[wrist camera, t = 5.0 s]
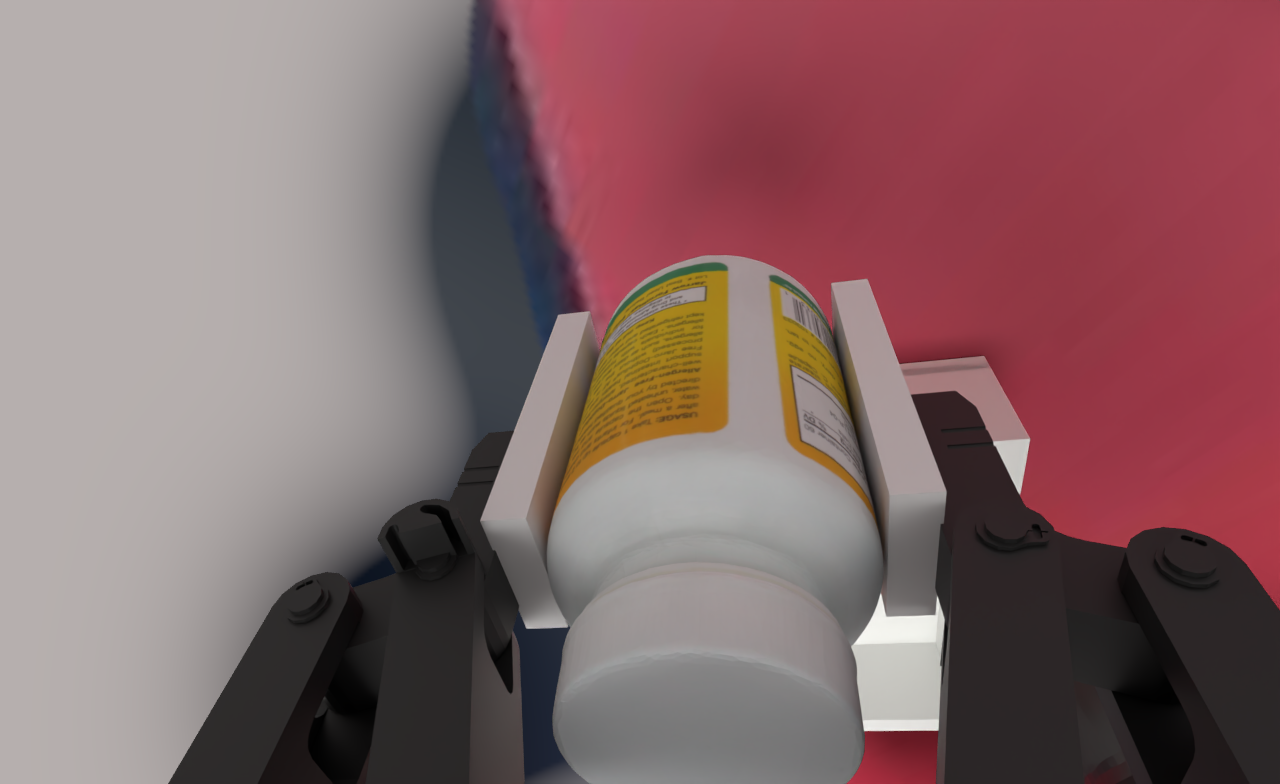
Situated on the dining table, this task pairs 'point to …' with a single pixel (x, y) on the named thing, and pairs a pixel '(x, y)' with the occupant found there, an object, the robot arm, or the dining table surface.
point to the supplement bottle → (714, 541)
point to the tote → (911, 645)
